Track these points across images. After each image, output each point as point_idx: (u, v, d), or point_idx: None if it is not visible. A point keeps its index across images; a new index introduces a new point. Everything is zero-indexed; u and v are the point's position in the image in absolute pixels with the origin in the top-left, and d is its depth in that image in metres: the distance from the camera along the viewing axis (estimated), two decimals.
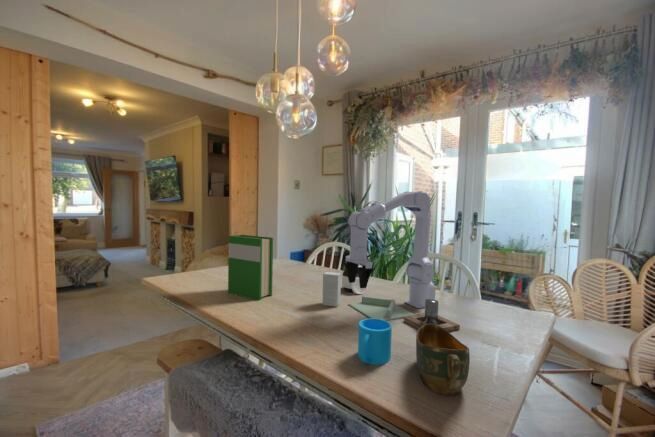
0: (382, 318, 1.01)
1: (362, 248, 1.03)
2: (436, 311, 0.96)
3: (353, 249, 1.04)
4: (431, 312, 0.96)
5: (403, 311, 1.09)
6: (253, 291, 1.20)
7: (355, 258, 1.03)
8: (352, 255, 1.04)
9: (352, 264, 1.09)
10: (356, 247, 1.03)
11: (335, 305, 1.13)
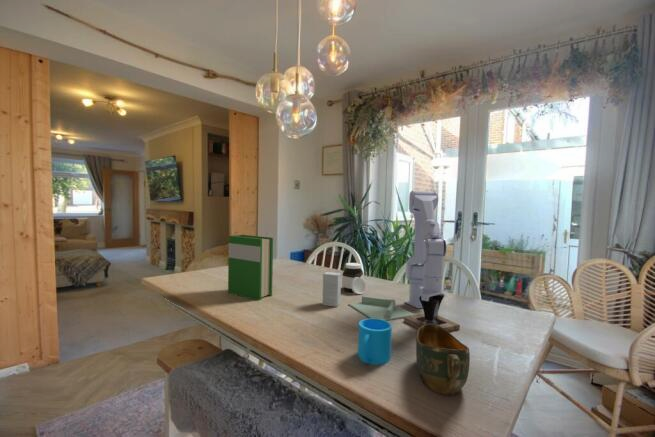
0: (382, 318, 1.01)
1: (429, 278, 0.95)
2: (436, 311, 0.96)
3: (423, 277, 0.98)
4: None
5: (403, 311, 1.09)
6: (253, 291, 1.20)
7: (423, 287, 0.97)
8: (423, 284, 0.98)
9: (433, 296, 0.99)
10: (424, 276, 0.97)
11: (335, 305, 1.13)
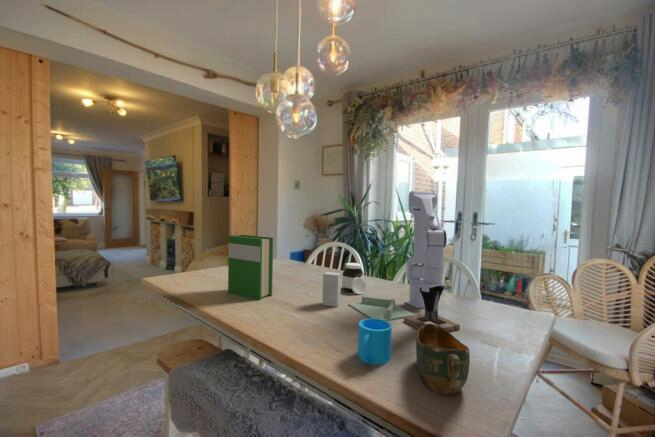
0: (382, 318, 1.01)
1: (430, 269, 0.95)
2: (436, 302, 0.96)
3: (423, 269, 0.98)
4: None
5: (403, 311, 1.09)
6: (253, 291, 1.20)
7: (424, 279, 0.97)
8: (423, 275, 0.98)
9: (434, 287, 0.99)
10: (424, 267, 0.97)
11: (335, 305, 1.13)
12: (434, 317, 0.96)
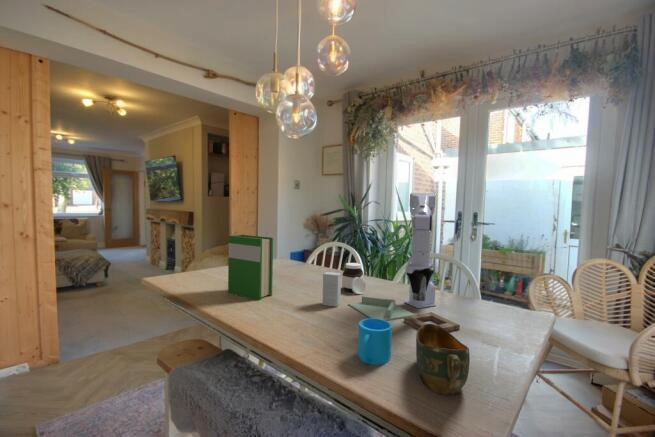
0: (382, 318, 1.01)
1: (416, 252, 0.98)
2: (423, 285, 0.99)
3: None
4: None
5: (403, 311, 1.09)
6: (253, 291, 1.20)
7: (411, 262, 1.01)
8: None
9: (423, 271, 1.02)
10: (412, 250, 1.00)
11: (335, 305, 1.13)
12: (420, 299, 0.99)
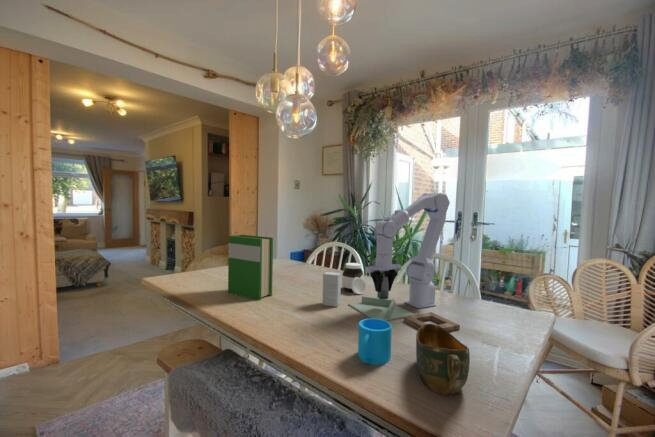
0: (382, 318, 1.01)
1: (377, 255, 1.10)
2: (384, 285, 1.09)
3: None
4: None
5: (403, 311, 1.09)
6: (253, 291, 1.20)
7: None
8: None
9: (388, 272, 1.12)
10: None
11: (335, 305, 1.13)
12: (382, 297, 1.09)
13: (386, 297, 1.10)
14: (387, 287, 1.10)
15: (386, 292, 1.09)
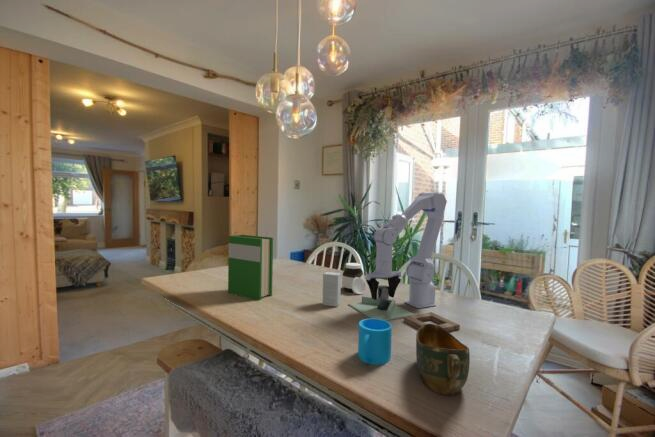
0: (382, 318, 1.01)
1: (377, 262, 1.10)
2: (384, 296, 1.09)
3: None
4: (380, 296, 1.10)
5: (403, 311, 1.09)
6: (253, 291, 1.20)
7: None
8: None
9: (391, 279, 1.13)
10: None
11: (335, 305, 1.13)
12: (382, 308, 1.10)
13: (386, 308, 1.10)
14: (387, 298, 1.10)
15: (386, 303, 1.10)
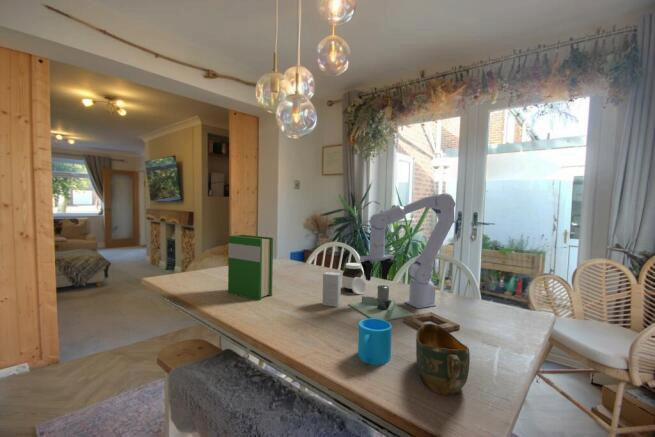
0: (382, 318, 1.01)
1: (371, 245, 1.16)
2: (384, 296, 1.09)
3: None
4: (380, 296, 1.10)
5: (403, 311, 1.09)
6: (253, 291, 1.20)
7: None
8: None
9: (384, 261, 1.20)
10: None
11: (335, 305, 1.13)
12: (382, 308, 1.10)
13: (386, 308, 1.10)
14: (387, 298, 1.10)
15: (386, 303, 1.10)
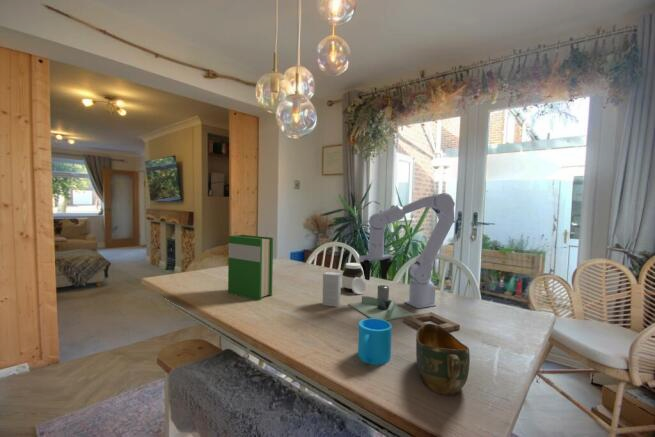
0: (382, 318, 1.01)
1: (370, 245, 1.18)
2: (384, 296, 1.09)
3: None
4: (380, 296, 1.10)
5: (403, 311, 1.09)
6: (253, 291, 1.20)
7: None
8: None
9: (383, 261, 1.21)
10: None
11: (335, 305, 1.13)
12: (382, 308, 1.10)
13: (386, 308, 1.10)
14: (387, 298, 1.10)
15: (386, 303, 1.10)
